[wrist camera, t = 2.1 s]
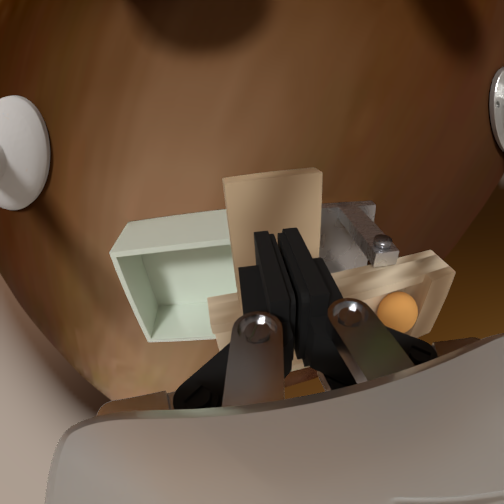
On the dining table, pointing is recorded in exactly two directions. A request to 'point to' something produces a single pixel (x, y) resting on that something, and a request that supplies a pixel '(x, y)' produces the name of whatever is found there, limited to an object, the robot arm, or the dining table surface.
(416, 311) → the ball
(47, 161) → the candlestick
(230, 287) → the pale green open box
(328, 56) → the dining table surface
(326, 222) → the lever stand
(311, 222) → the lever
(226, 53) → the dining table surface
